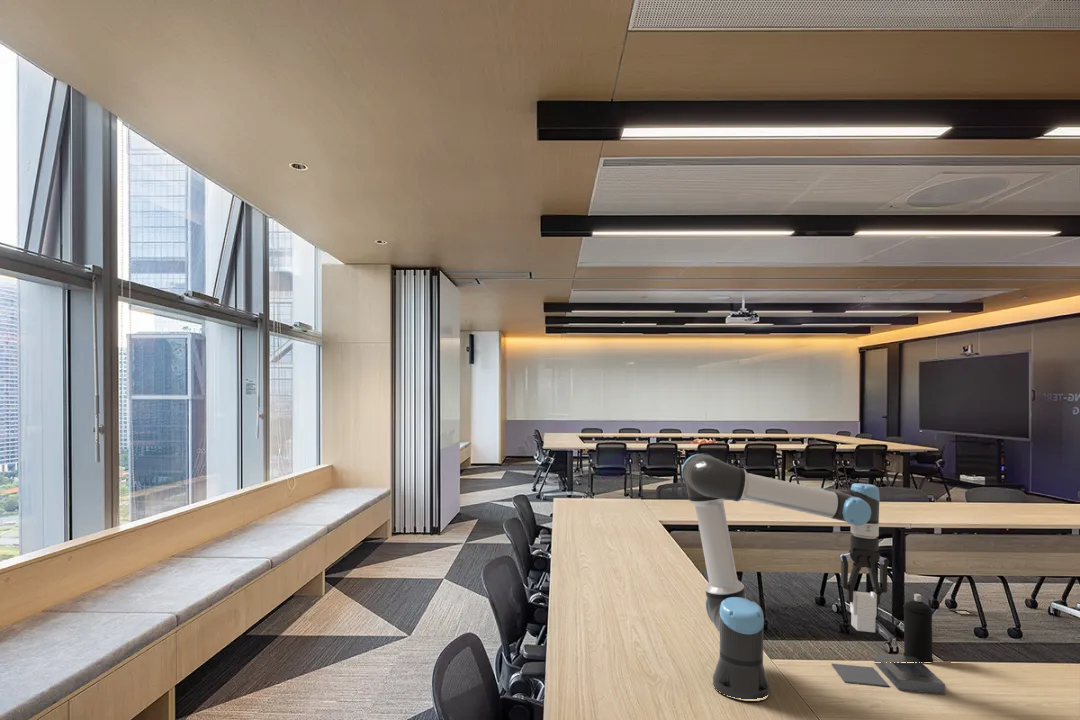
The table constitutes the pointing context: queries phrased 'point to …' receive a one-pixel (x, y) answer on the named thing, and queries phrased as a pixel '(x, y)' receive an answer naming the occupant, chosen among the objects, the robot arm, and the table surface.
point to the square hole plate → (909, 674)
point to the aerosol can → (918, 630)
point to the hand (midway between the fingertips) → (863, 613)
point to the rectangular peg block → (864, 612)
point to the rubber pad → (859, 675)
